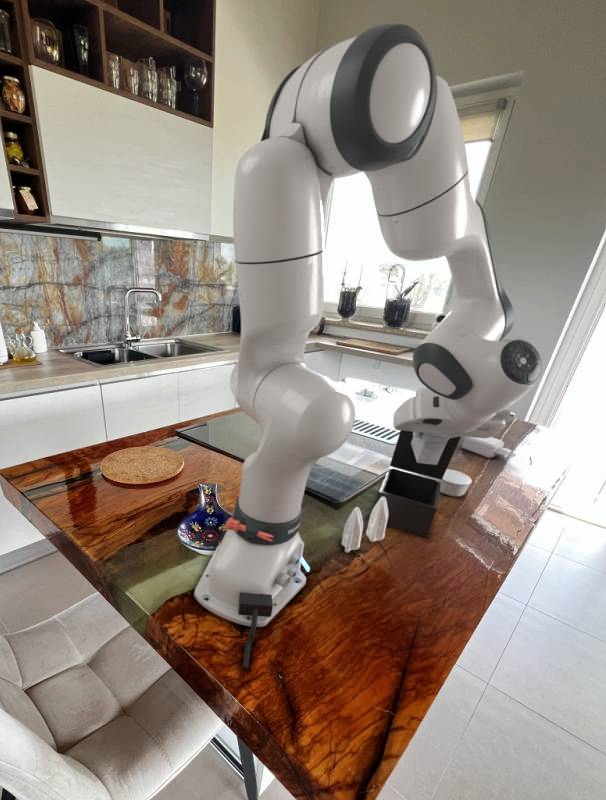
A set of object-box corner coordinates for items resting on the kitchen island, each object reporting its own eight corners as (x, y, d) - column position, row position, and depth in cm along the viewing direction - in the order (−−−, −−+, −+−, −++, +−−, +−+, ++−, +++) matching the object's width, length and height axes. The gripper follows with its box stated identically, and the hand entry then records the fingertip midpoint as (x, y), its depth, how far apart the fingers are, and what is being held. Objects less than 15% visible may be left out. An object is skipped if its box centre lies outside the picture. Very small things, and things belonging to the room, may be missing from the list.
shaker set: (376, 531, 95) (390, 489, 89) (389, 541, 92) (404, 499, 86) (334, 541, 90) (346, 498, 84) (346, 553, 87) (359, 509, 81)
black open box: (425, 537, 94) (437, 508, 90) (370, 519, 99) (378, 491, 95) (430, 506, 106) (441, 480, 102) (381, 492, 111) (389, 466, 107)
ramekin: (434, 494, 112) (440, 480, 110) (429, 479, 120) (434, 466, 118) (469, 500, 111) (475, 486, 109) (461, 485, 118) (467, 472, 116)
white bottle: (506, 466, 133) (460, 448, 142) (516, 459, 138) (471, 443, 148) (513, 452, 131) (465, 436, 140) (523, 446, 136) (476, 430, 145)
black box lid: (465, 426, 90) (468, 414, 92) (405, 413, 94) (410, 402, 97) (441, 479, 102) (444, 468, 105) (389, 465, 106) (393, 454, 109)
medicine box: (436, 466, 90) (452, 432, 84) (415, 463, 91) (430, 429, 85) (429, 446, 96) (444, 413, 90) (409, 443, 96) (423, 410, 91)
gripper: (520, 397, 78) (477, 426, 91) (410, 387, 78) (384, 417, 91) (521, 428, 76) (477, 453, 90) (410, 417, 77) (383, 444, 90)
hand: (429, 435), depth 91 cm, fingers closed on medicine box, 4 cm apart
